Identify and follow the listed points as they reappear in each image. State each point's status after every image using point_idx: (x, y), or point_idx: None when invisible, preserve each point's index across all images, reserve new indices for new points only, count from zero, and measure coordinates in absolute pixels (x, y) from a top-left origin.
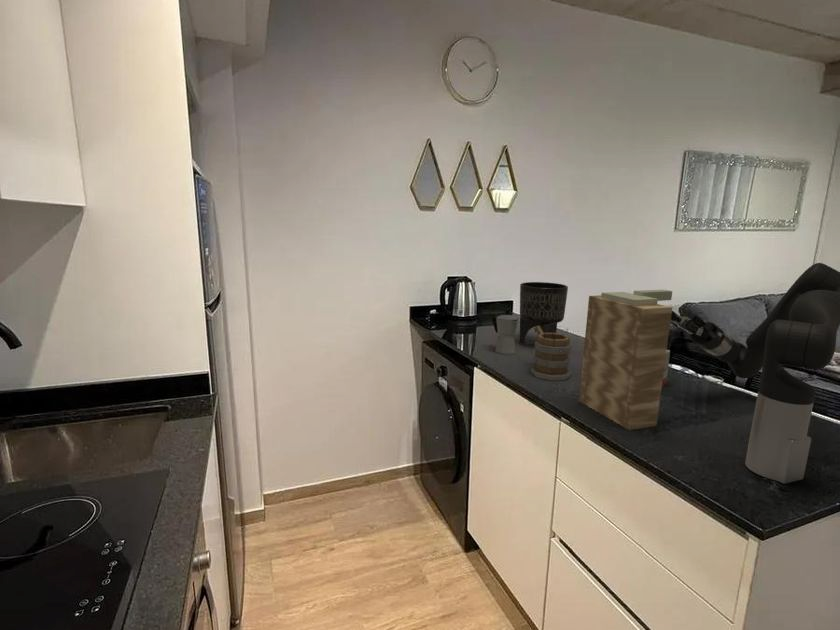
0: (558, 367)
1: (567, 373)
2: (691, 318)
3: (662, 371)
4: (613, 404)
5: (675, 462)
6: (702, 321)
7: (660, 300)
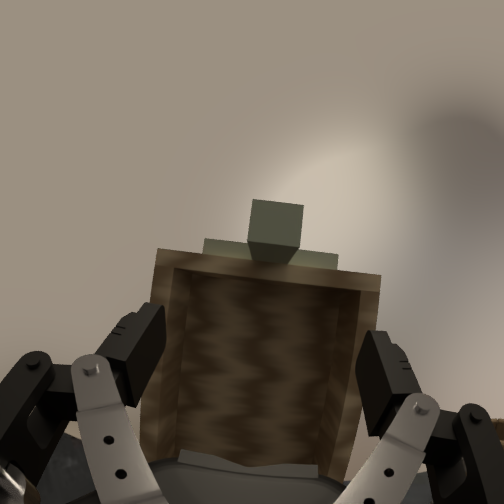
0: None
1: None
2: (162, 328)
3: (141, 422)
4: None
5: (71, 452)
6: (103, 348)
7: (250, 250)
